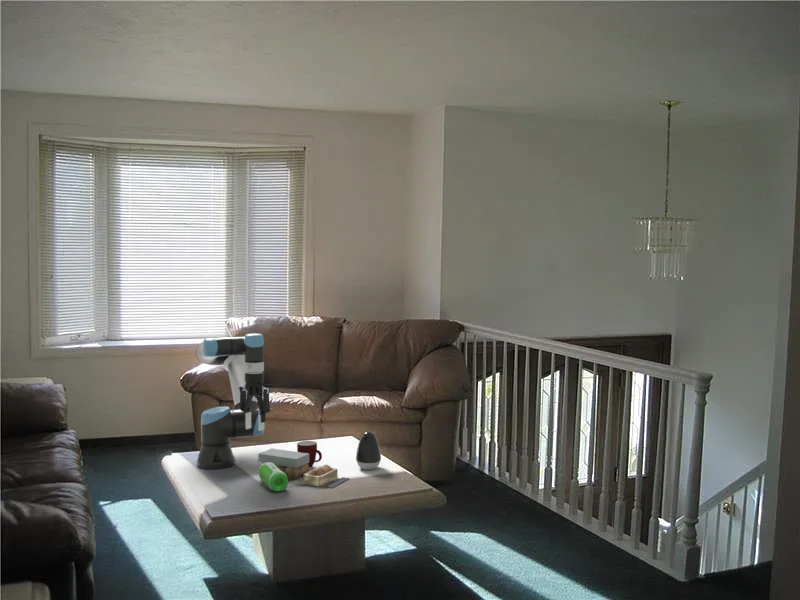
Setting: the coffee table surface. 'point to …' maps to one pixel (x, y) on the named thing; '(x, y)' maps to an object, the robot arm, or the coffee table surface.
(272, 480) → the speaker
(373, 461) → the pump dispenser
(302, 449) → the mug
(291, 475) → the roller bed
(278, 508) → the coffee table surface
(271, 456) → the slab
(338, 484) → the stop strip
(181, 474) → the coffee table surface
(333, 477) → the open rectangular frame
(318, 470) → the roller
